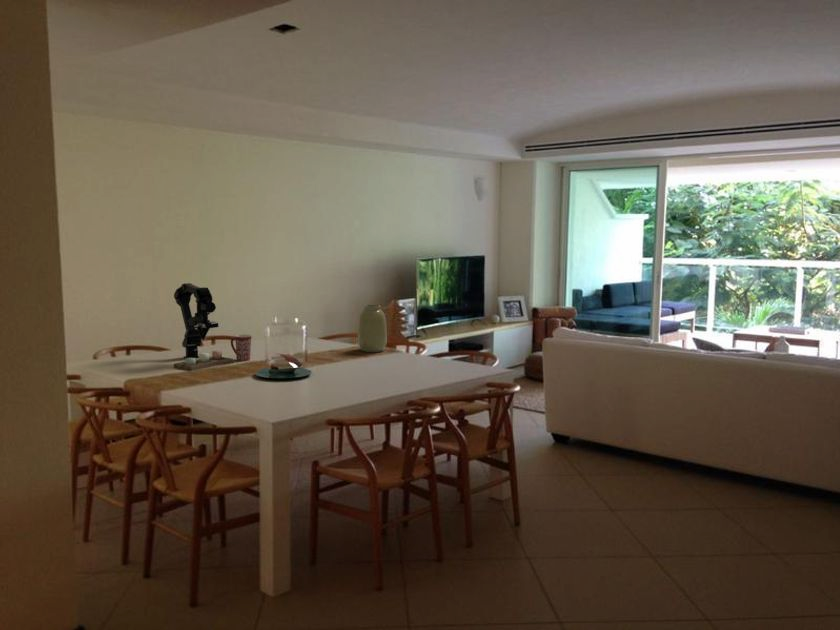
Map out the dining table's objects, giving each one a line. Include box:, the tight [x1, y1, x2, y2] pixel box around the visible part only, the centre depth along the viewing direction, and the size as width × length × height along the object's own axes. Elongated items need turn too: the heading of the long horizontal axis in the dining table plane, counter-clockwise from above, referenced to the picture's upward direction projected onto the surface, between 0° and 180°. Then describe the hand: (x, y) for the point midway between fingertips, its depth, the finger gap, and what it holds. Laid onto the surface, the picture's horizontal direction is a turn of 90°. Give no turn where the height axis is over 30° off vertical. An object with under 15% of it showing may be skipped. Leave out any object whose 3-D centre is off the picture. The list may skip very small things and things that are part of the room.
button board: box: [173, 356, 234, 371], centre depth 389 cm, size 14×28×2 cm, turn 148°
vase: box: [357, 304, 388, 353], centre depth 440 cm, size 17×17×27 cm
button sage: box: [184, 358, 197, 365], centre depth 381 cm, size 5×5×4 cm
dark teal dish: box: [254, 353, 312, 379], centre depth 365 cm, size 28×28×11 cm
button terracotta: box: [211, 350, 223, 360], centre depth 396 cm, size 5×5×4 cm
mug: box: [230, 334, 252, 362], centre depth 405 cm, size 13×9×14 cm
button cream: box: [198, 352, 210, 362], centre depth 389 cm, size 5×5×4 cm
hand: (202, 339), depth 397 cm, fingers closed
